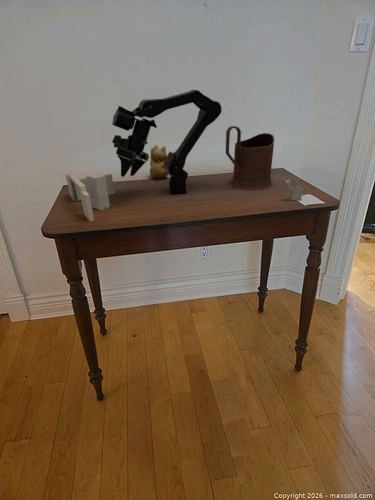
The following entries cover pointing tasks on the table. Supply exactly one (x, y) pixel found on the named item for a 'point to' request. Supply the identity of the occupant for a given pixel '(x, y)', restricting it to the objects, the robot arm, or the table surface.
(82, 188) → the wall frame
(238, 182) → the brown pitcher
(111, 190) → the door
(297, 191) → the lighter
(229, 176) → the table surface
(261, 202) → the table surface
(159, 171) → the decorative figurine
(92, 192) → the skincare box
